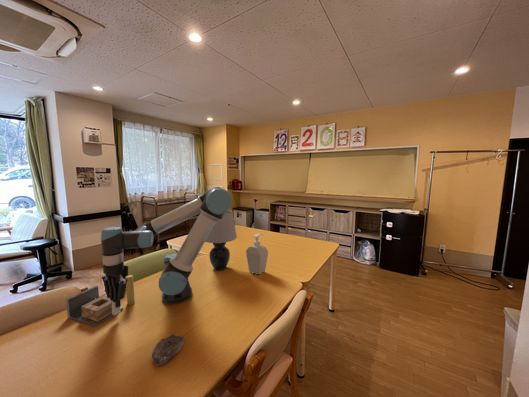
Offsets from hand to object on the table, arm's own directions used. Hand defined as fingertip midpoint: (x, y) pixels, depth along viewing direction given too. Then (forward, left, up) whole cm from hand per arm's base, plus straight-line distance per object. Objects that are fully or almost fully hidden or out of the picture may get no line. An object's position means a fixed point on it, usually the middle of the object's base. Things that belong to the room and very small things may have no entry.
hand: (116, 313), depth 99 cm
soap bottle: (-42, -68, -4) cm, 80 cm away
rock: (-35, +7, -4) cm, 36 cm away
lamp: (-15, -64, -4) cm, 66 cm away
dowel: (+6, -12, -3) cm, 14 cm away
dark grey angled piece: (+14, 0, -3) cm, 14 cm away
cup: (+24, -21, -4) cm, 32 cm away
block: (+10, 0, -2) cm, 10 cm away
